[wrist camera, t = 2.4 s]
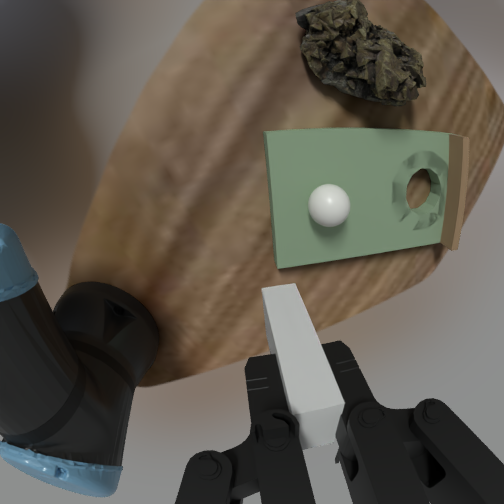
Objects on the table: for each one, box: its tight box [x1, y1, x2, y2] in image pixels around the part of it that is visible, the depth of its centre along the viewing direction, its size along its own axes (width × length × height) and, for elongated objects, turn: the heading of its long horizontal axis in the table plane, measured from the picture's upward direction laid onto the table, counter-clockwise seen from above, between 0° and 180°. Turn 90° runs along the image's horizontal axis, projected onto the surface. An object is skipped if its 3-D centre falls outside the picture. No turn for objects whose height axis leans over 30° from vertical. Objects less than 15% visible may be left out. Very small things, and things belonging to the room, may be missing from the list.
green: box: [263, 128, 469, 269], centre depth 28 cm, size 24×14×4 cm, turn 96°
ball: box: [308, 184, 350, 227], centre depth 26 cm, size 4×4×4 cm
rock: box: [296, 0, 426, 106], centre depth 22 cm, size 13×10×10 cm
